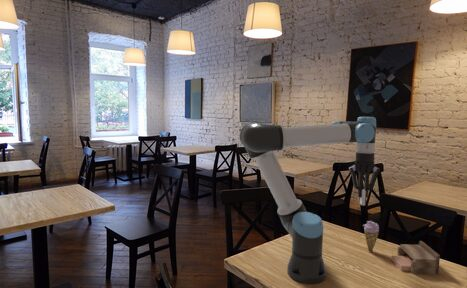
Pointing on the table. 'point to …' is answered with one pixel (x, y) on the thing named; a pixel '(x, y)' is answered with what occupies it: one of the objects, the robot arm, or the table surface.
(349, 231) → the table surface
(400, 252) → the brown channel bracket
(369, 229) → the ice cream cone
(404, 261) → the pinkish brown block
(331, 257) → the table surface
